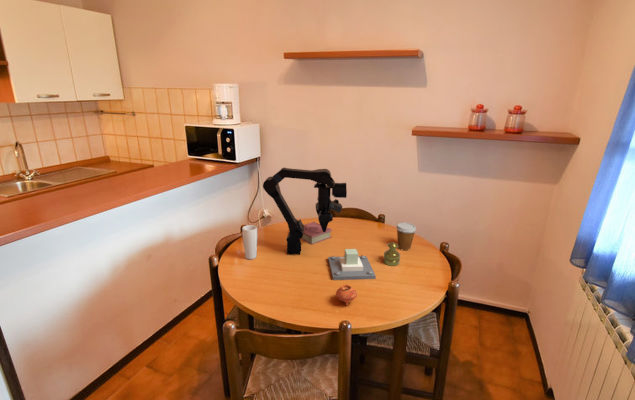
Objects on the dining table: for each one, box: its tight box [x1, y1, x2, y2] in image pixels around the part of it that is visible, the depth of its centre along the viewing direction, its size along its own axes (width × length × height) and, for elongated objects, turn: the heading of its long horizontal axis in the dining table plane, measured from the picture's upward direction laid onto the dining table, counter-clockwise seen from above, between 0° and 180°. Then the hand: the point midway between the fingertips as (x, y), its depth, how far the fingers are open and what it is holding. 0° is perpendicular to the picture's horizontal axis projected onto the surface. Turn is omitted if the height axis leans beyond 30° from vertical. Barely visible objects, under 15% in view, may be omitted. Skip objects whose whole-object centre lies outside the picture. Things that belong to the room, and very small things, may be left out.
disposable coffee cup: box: [395, 222, 417, 251], centre depth 174 cm, size 10×10×12 cm
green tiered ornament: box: [383, 241, 401, 267], centre depth 159 cm, size 7×7×10 cm
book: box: [300, 221, 333, 246], centre depth 186 cm, size 14×15×5 cm
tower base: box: [327, 255, 377, 281], centre depth 153 cm, size 18×18×4 cm
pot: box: [335, 284, 358, 307], centre depth 130 cm, size 8×8×7 cm
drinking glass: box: [241, 224, 258, 260], centre depth 160 cm, size 7×7×15 cm
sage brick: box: [344, 248, 359, 265], centre depth 152 cm, size 5×5×5 cm
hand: (323, 228), depth 164 cm, fingers open, 9 cm apart
